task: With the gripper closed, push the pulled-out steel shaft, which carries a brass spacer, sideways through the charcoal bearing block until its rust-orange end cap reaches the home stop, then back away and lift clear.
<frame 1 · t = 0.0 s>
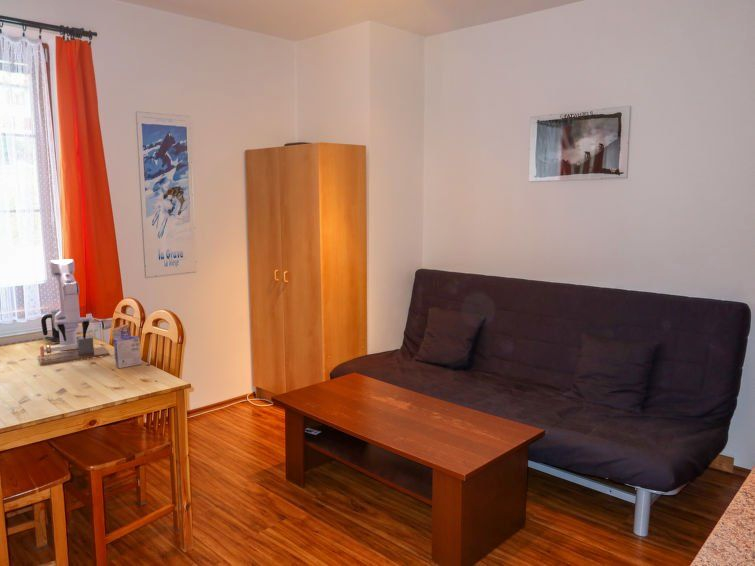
hand: (74, 339, 266), 10 cm above the table, tool pointing down, fingers open, 7 cm apart
bearing base: (74, 356, 275), on the table
candy box: (124, 360, 269), on the table
milk frother: (59, 340, 307), on the table
shaft: (64, 347, 272), point 5 cm above the table, slide at 8.0 cm
ink cartridge box: (128, 365, 261), on the table
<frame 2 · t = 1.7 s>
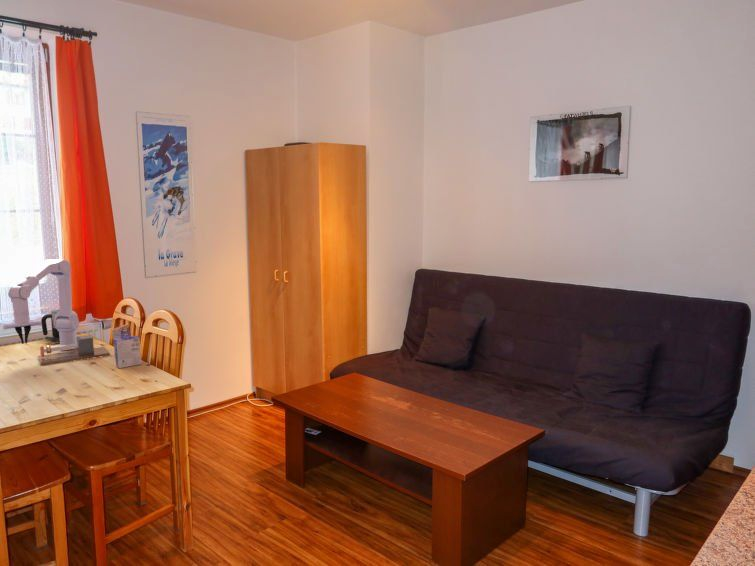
hand: (24, 343, 263), 9 cm above the table, tool pointing down, fingers closed
nothing on the table moved.
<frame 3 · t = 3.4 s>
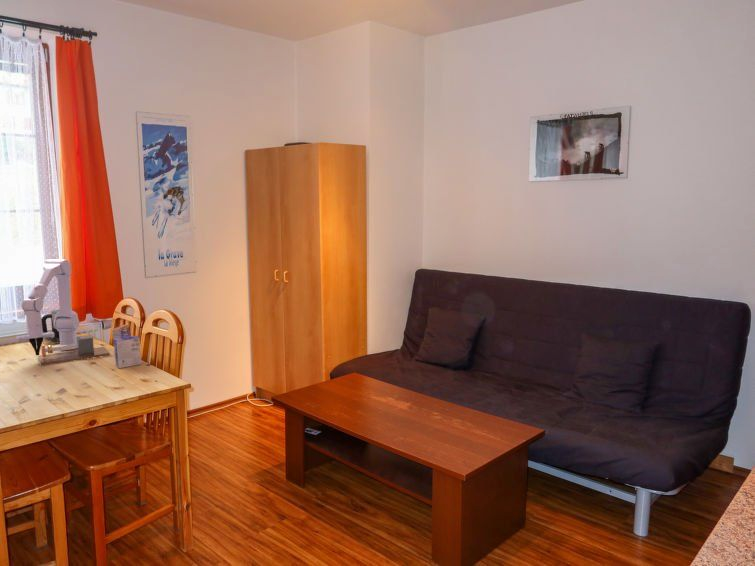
hand: (37, 354, 267), 3 cm above the table, tool pointing down, fingers closed
shaft: (65, 347, 273), point 5 cm above the table, slide at 7.4 cm, touching gripper
everything else where it was.
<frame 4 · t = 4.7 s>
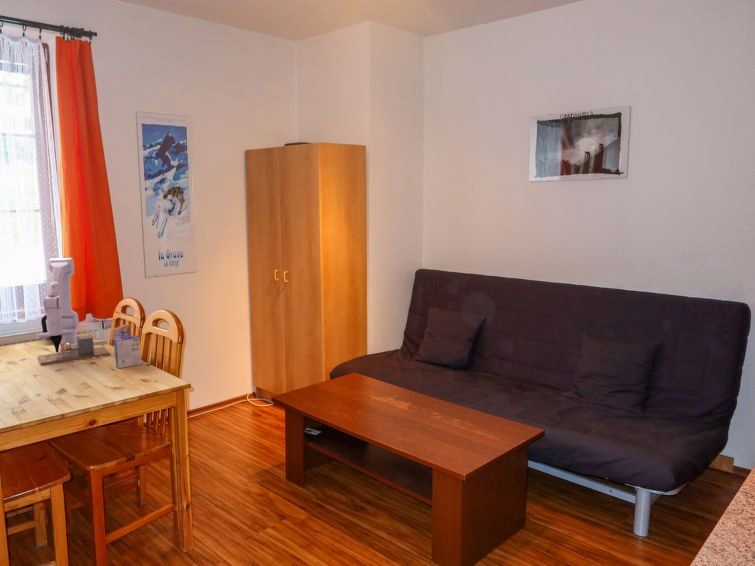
hand: (57, 352, 271), 3 cm above the table, tool pointing down, fingers closed
shaft: (83, 344, 277), point 5 cm above the table, slide at -0.1 cm, touching gripper
everything else where it was.
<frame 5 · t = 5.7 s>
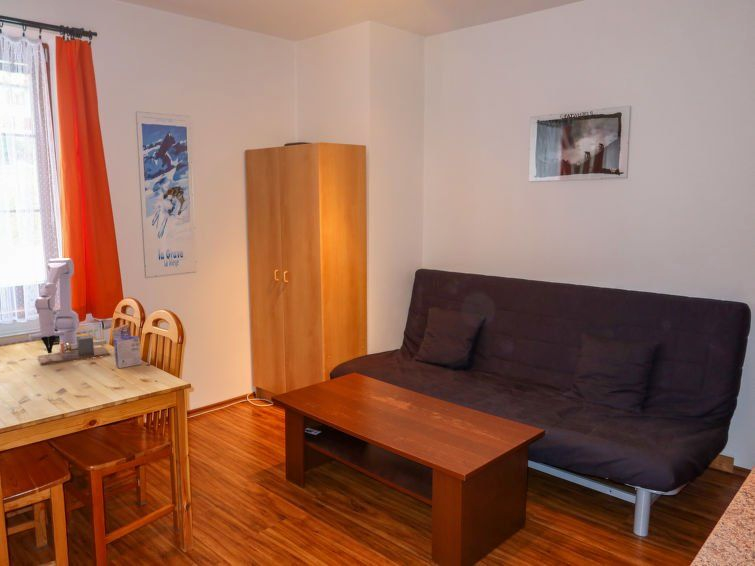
hand: (49, 352, 269), 3 cm above the table, tool pointing down, fingers closed
shaft: (83, 344, 277), point 5 cm above the table, slide at 0.0 cm
everything else where it was.
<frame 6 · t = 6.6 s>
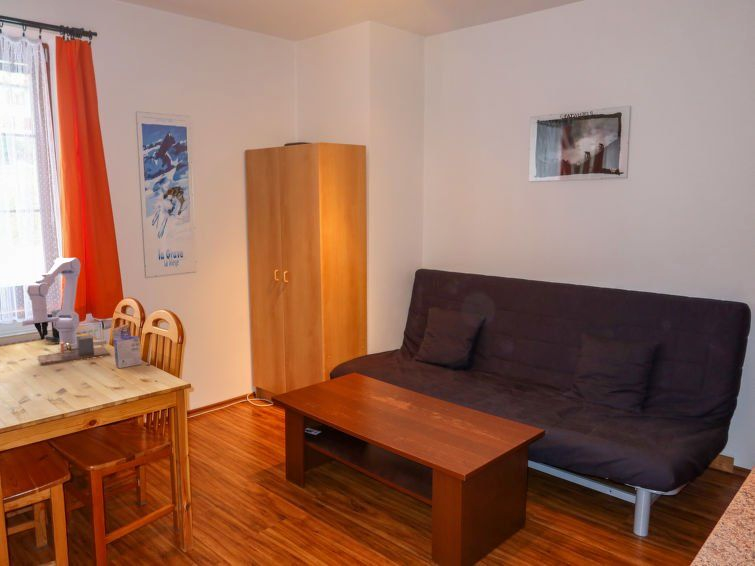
hand: (42, 339, 271), 9 cm above the table, tool pointing down, fingers closed
nothing on the table moved.
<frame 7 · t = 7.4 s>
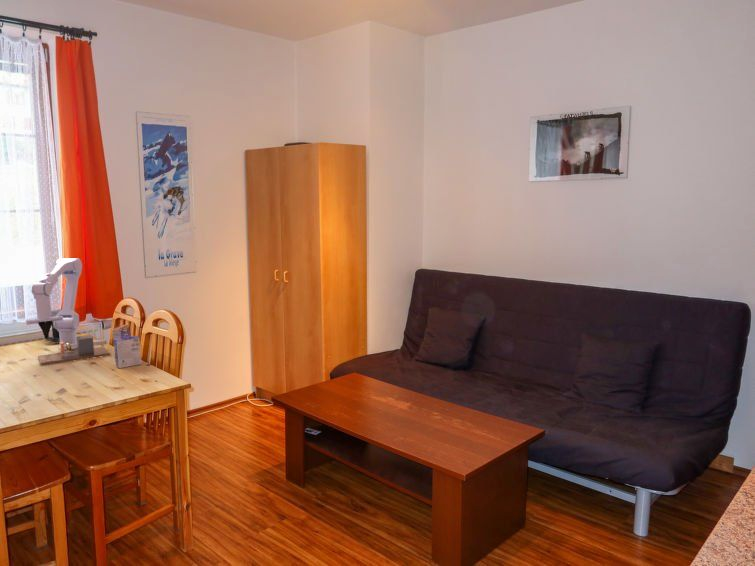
hand: (46, 338, 272), 9 cm above the table, tool pointing down, fingers closed
nothing on the table moved.
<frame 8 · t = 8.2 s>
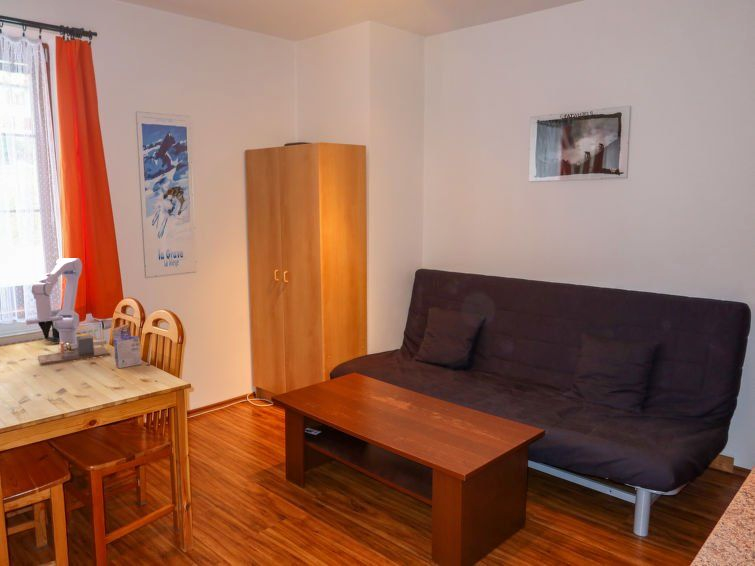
hand: (46, 338, 272), 9 cm above the table, tool pointing down, fingers closed
nothing on the table moved.
at the end: shaft slide at 0.0 cm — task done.
